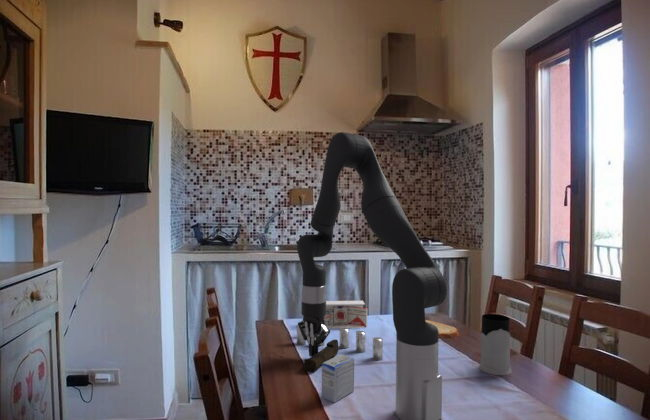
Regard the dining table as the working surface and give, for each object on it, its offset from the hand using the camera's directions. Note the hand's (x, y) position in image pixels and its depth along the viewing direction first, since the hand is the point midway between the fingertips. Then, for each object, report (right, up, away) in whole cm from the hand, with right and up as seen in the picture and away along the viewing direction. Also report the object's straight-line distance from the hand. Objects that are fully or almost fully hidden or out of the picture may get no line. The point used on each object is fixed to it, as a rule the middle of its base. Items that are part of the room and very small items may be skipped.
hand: (313, 356), depth 125 cm
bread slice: (+43, -2, +29) cm, 52 cm away
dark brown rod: (+3, -2, -1) cm, 3 cm away
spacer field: (+7, -1, +9) cm, 11 cm away
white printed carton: (+10, -1, +34) cm, 36 cm away
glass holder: (+53, -2, -4) cm, 53 cm away
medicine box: (+7, -2, -23) cm, 24 cm away
